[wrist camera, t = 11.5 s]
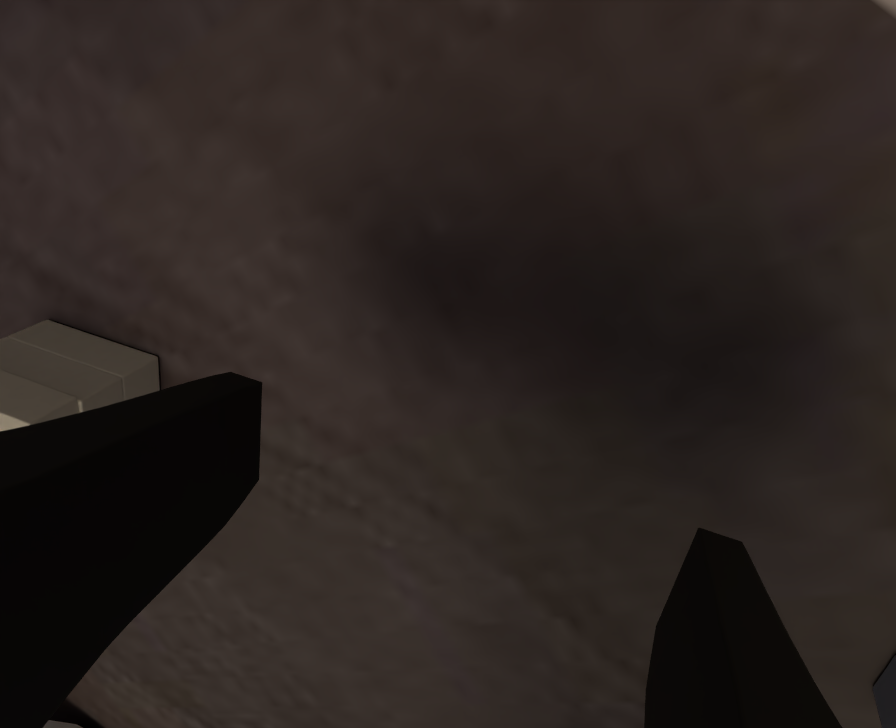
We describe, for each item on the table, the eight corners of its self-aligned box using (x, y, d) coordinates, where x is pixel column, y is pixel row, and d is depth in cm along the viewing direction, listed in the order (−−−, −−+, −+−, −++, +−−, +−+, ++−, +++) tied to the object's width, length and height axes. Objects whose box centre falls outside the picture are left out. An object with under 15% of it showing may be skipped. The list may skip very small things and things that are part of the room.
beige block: (167, 525, 28) (101, 584, 25) (69, 485, 30) (-5, 537, 26) (159, 355, 25) (80, 401, 22) (46, 318, 26) (-43, 356, 23)
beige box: (98, 580, 25) (59, 615, 24) (-8, 534, 26) (-53, 565, 25) (77, 396, 22) (29, 424, 20) (-47, 351, 23) (-102, 374, 21)
